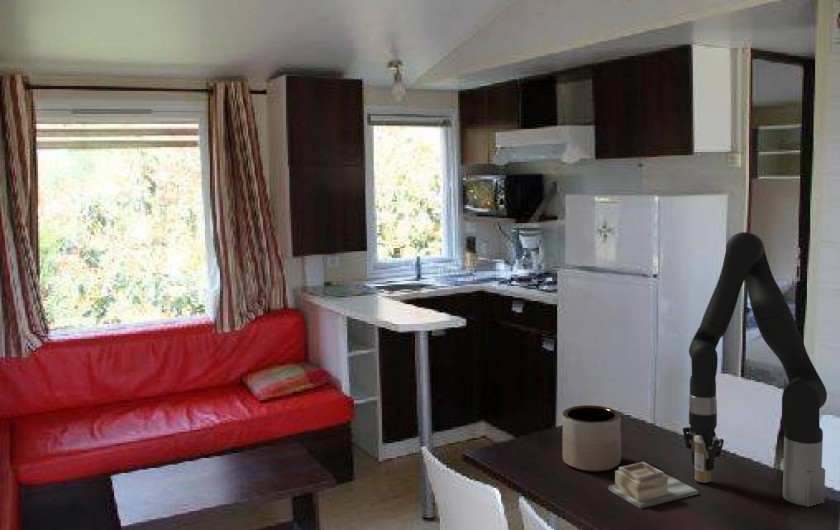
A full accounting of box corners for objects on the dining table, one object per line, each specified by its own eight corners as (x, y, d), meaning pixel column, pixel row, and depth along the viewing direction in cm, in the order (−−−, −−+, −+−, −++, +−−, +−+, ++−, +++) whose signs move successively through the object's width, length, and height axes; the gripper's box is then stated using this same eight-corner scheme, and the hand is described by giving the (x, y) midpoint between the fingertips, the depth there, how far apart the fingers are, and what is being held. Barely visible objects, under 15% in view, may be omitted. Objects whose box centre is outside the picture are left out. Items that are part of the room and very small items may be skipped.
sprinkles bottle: (714, 482, 215) (714, 436, 214) (699, 483, 215) (699, 438, 213) (705, 476, 220) (705, 431, 218) (691, 477, 219) (691, 432, 218)
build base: (698, 494, 209) (698, 469, 209) (640, 508, 202) (640, 482, 201) (663, 476, 222) (663, 452, 221) (607, 489, 215) (607, 465, 214)
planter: (622, 474, 225) (622, 423, 223) (562, 471, 228) (561, 421, 226) (619, 452, 242) (619, 405, 240) (563, 450, 246) (562, 404, 244)
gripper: (732, 414, 210) (731, 473, 212) (694, 401, 223) (694, 457, 225) (711, 418, 207) (711, 478, 209) (674, 405, 220) (675, 461, 222)
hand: (702, 467), depth 217 cm, fingers closed on sprinkles bottle, 4 cm apart
